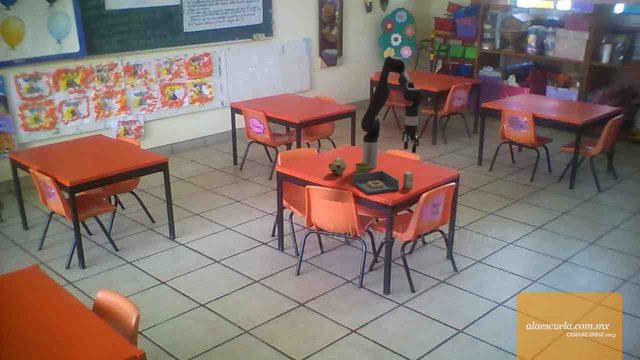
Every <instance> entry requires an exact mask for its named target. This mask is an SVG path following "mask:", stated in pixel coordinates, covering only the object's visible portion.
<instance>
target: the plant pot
mask: <svg viewBox="0 0 640 360" xmlns="http://www.w3.org/2000/svg"><path fill="white" fill-rule="evenodd" d="M354 166H355V169H356V174H360V173H367V172H370V171H369V170H370V169H369V167H370V164H368V163H362V162H357V163H355V164H354Z"/></svg>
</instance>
